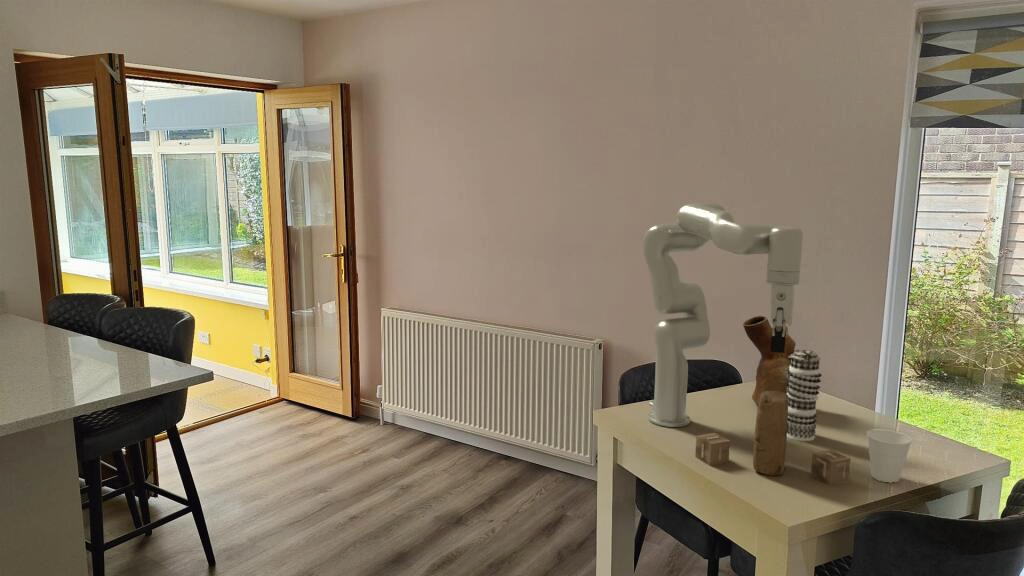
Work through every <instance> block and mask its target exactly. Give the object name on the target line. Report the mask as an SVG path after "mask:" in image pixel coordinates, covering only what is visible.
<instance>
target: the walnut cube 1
mask: <svg viewBox="0 0 1024 576" xmlns="http://www.w3.org/2000/svg"><path fill="white" fill-rule="evenodd" d="M695 438H696V439H695V454H694V456H695V458H697V459H698V460H700V461H701V462H702V463H704V464H706V465H708V466H710V467H711V466H716V465H721V464H726V463H730V461H729V459H730V446H731V445H730V443H731V440H729V439H727V438H725V437H723V436H722V435H720V434H718V433H716V432H713V433H705V434H700V435H696V436H695Z"/></svg>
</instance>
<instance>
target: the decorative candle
mask: <svg viewBox="0 0 1024 576" xmlns="http://www.w3.org/2000/svg"><path fill="white" fill-rule="evenodd" d="M789 357H790V358H791V364H790V367H789V368H788V369H787V374H789V375H787V377H786V378H787V382H786V383H787V386H788V387H787V389H786V391H787V395H788V425H787V438H788V439H790V440H791V439H792V440H794V441H800V442H809V441H810V442H811V441H813V440H815V439H816V435H815V434H816V429H817V425H816V423H817V419H816V418H817V416H818V415H817V401H818V400H819V396H818V395H819V394H820V391H819V390H820V388H821V386H819V385H818V384H819V383H822V380H821V377H822V374H821V373H820V360H821V359H822V358H821V357H820V356H819V355H818V354H817V352H815V351H813V350H809V349H801V348H800V349H796V350H795V351H794V353H793V354H790V356H789Z"/></svg>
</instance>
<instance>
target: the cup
mask: <svg viewBox="0 0 1024 576" xmlns="http://www.w3.org/2000/svg"><path fill="white" fill-rule="evenodd" d="M866 436H867V443H868V454H869V455H868V456H869V464H870V475H871V477H873V479H874V480H876V481H879V482H881V481H882V483H885V482H889V483H888V484H893V483H892V482H895V483H897V482H899V481H900V480H901V479H900V478H901V476H902V472H903V468H904V466H905V462H906V459H907V455H908V452H909V450H910V446H911V444H912V442H913V439H912V438H911V437H910V436H909V435H907V434H905V433H902V432H901V431H900V432H899V431H895V430H891V429H883V428H881V429H880V428H879V429H878V428H875V429H869V430H867V431H866Z"/></svg>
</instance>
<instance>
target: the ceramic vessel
mask: <svg viewBox="0 0 1024 576" xmlns="http://www.w3.org/2000/svg"><path fill="white" fill-rule="evenodd" d="M742 326H743V328H744V332H745V333H746V335H747V337H748V339H749V340H750V341H751V343H752V344H753V345H754V347H755V348H756V349H757V350H758V352H759V353H760V356H761V358H760V360H759V362H758V365H757V368H756V375H755V382H756V383H755V386H754V387H755V388H754V390H753V393H752V395H751V399H752V401H753V402H754V403H755V405H756V406H758V404H759V399H760V396H761V393H762V392H764V391H779V392H784V393H786V394H787V391H786V389H787V387H788V386H787V383H786V382H787V378H786V377H787V375H789V374H787V369H788V368H789V367H790V364H791V356H790V354H793V353H794V351H796V350H795V347H796V345H797V343H796V341H795V339H793V338H792V337H791V336H790V334H789V328H788V326H787V325H785V331H786V338H785V350H784V353H778V352H771V351H770V348H771V335H772V330H773V326H771V323H770V322H769V319H768V318H767V316H765V315H757V316H751V317H749V318H747V319H745V320H744V321H743V323H742Z"/></svg>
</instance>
